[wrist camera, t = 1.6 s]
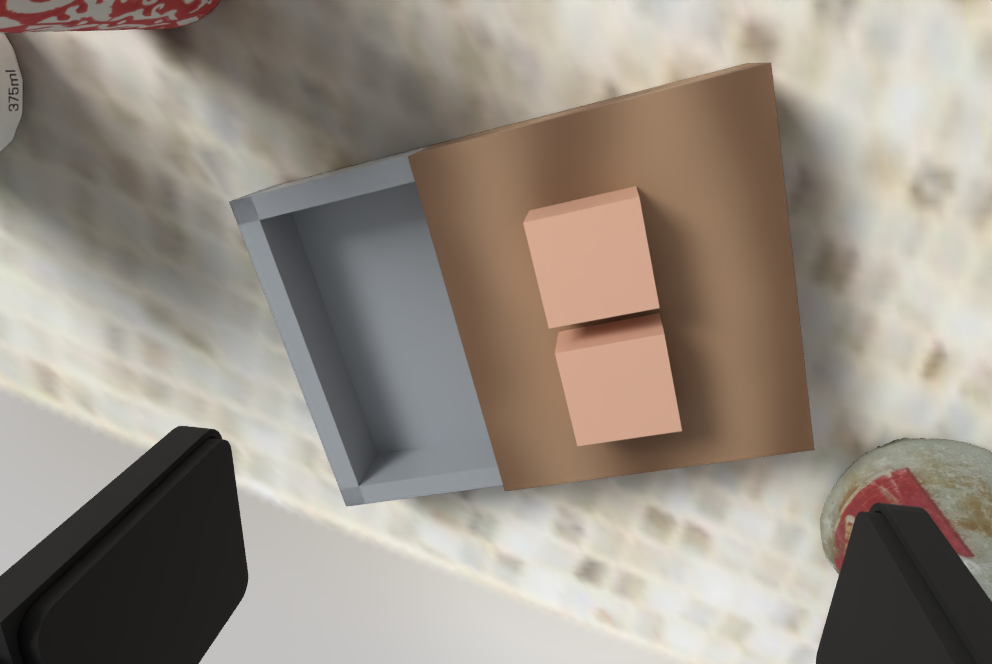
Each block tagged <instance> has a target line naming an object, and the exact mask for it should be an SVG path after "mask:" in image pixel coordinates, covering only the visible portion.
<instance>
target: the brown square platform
mask: <svg viewBox="0 0 992 664" xmlns="http://www.w3.org/2000/svg"><path fill="white" fill-rule="evenodd" d="M408 159H409V163H410V166H411V170H412V173H413V176H414V180H415V183H416V187H417V190H418V194H419V197H420V201H421V204H422V207H423V211H424V214H425V218H426V221H427V225H428V228H429V232H430V235H431V238H432V242H433V245H434V249H435V252H436V256H437V259H438V263H439V266H440V269H441V273H442V276H443V280H444V283H445V287H446V290H447V293H448V297H449V300H450V304H451V307H452V311H453V314H454V318H455V321H456V324H457V328H458V331H459V335H460V338H461V342H462V345H463V349H464V352H465V355H466V359H467V362H468V366H469V369H470V373H471V376H472V380H473V383H474V386H475V390H476V393H477V397H478V400H479V404H480V407H481V411H482V414H483V417H484V421H485V424H486V428H487V431H488V435H489V438H490V442H491V445H492V448H493V452H494V455H495V459H496V462H497V466H498V469H499V473H500V476H501V479H502V483H503V486H504V490H505V491H510V490H518V489H525V488H533V487H540V486H548V485H555V484H563V483H570V482H578V481H585V480H593V479H600V478H608V477H615V476H622V475H630V474H637V473H645V472H652V471H660V470H667V469H675V468H682V467H690V466H697V465H705V464H712V463H720V462H727V461H735V460H742V459H750V458H757V457H765V456H772V455H780V454H787V453H795V452H802V451H810V450H814V444H813V435H812V426H811V417H810V408H809V399H808V390H807V381H806V372H805V363H804V354H803V345H802V336H801V327H800V318H799V309H798V300H797V291H796V282H795V273H794V264H793V255H792V246H791V237H790V228H789V219H788V210H787V201H786V192H785V183H784V174H783V165H782V156H781V147H780V138H779V129H778V120H777V111H776V102H775V93H774V84H773V75H772V66H771V63H746V64H743V65H739V66H735V67H731V68H727V69H723V70H719V71H716V72H712V73H708V74H704V75H700V76H696V77H692V78H689V79H685V80H681V81H677V82H673V83H669V84H665V85H662V86H658V87H654V88H650V89H646V90H642V91H638V92H635V93H631V94H627V95H623V96H619V97H615V98H612V99H608V100H604V101H600V102H596V103H592V104H588V105H585V106H581V107H577V108H573V109H569V110H565V111H561V112H558V113H554V114H550V115H546V116H542V117H538V118H534V119H531V120H527V121H523V122H519V123H515V124H511V125H507V126H504V127H500V128H496V129H492V130H488V131H484V132H481V133H477V134H473V135H469V136H465V137H461V138H457V139H454V140H450V141H446V142H442V143H438V144H434V145H431V146H429V147H427V148H425V149H423V150H420V151H418V152H416V153H414V154H412V155H410V156H408ZM634 186H636V187H637V191H638V194H639V198H640V203H641V209H642V214H643V220H644V225H645V231H646V236H647V242H648V247H649V253H650V258H651V264H652V269H653V275H654V280H655V286H656V291H657V296H658V302H659V307H660V308H657V309H652V310H646V311H641V312H636V313H630V314H625V315H620V316H614V317H609V318H604V319H598V320H593V321H588V322H582V323H577V324H571V325H566V326H561V327H555V328H550V329H549V327H548V323H547V319H546V315H545V311H544V307H543V303H542V299H541V294H540V290H539V286H538V282H537V278H536V274H535V270H534V266H533V262H532V257H531V253H530V249H529V245H528V241H527V237H526V233H525V229H524V224H523V222H524V220H525V218H526V216H527V214H528V212H529V210H534V209H538V208H542V207H547V206H551V205H556V204H560V203H564V202H569V201H573V200H577V199H582V198H586V197H591V196H595V195H599V194H604V193H608V192H612V191H617V190H621V189H626V188H630V187H634ZM658 313H660V317H661V322H662V326H663V330H664V335H665V340H666V346H667V351H668V357H669V362H670V368H671V373H672V378H673V384H674V389H675V395H676V400H677V406H678V411H679V417H680V422H681V428H682V431H679V432H672V433H665V434H659V435H652V436H645V437H638V438H631V439H624V440H617V441H610V442H604V443H597V444H590V445H583V446H577V443H576V439H575V435H574V430H573V426H572V422H571V418H570V414H569V410H568V406H567V402H566V397H565V393H564V389H563V385H562V381H561V377H560V373H559V369H558V364H557V360H556V356H555V349H556V343H557V337H558V332H560V331H566V330H571V329H577V328H582V327H587V326H593V325H598V324H604V323H609V322H615V321H620V320H625V319H631V318H636V317H642V316H647V315H652V314H658Z"/></svg>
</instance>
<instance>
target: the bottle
mask: <svg viewBox="0 0 992 664" xmlns="http://www.w3.org/2000/svg"><path fill="white" fill-rule="evenodd" d="M875 503H887V504H896V505H905V506H914V507H920V508H923V509H924V510H925V511H926V512H927V513H928V514H929V515H930V516H931V518H932V519H933V521H934V522H935V523H936V525H937V526H938V528H939V529H940V530H941V532H942V533H943V534H944V536H945V537H946V539H947V540H948V541H949V543H950V544H951V546H952V547H953V548H954V550H955V551H956V553H957V554H958V555H959V557H960V558H961V559H962V561H963V562H964V564H965V565H966V566H967V568H968V569H969V571H970V572H971V573H972V575H973V576H974V578H975V579H976V580H977V582H978V583H979V584H980V586H981V587H982V589H983V590H984V591H985V593H986V594H987V596H988V597H989V598H990V600H991V601H992V452H990V451H988V450H986V449H983V448H980V447H977V446H975V445H972V444H968V443H965V442H959V441H953V440H946V439H924V438H920V439H908V438H902V439H901V440H899V439H897V440H894V441H892V442H890V443H888V444H885V445H884V446H882V447H881V448H880V446H878V447H877V449H875V450H873V451H871V452H869V453H866V454H864V455H862V456H861V457H860V458H859V459H858V460H856V461H855V462H853V464H852V465H851V466H850V467H849V468H848V469H847V470H846V471H845V472H844V474H843V475H842V476H841V477H840V478H839V480H838V481H837V482H836V484H835V485H834V487H833V489H832V491H831V493H830V495H829V496H828V498H827V500H826V502H825V505H824V508H823V511H822V515H821V518H820V529H821V538H822V544H823V550H824V552H825V555H826V558H827V559H828V560H829V562H830V563H831V565H833V567H834V568H835V570H836V571H837V573H838V574H840V570H841V567H842V563H843V560H844V556H845V553H846V549H847V545H848V542H849V538H850V535H851V531H852V528H853V524H854V521H855V518H856V516H857V514H858V513H859V512H861V511H864V512H869V510H870V508H871V507H872V506H873V504H875Z"/></svg>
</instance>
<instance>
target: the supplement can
mask: <svg viewBox="0 0 992 664" xmlns="http://www.w3.org/2000/svg"><path fill="white" fill-rule="evenodd" d="M22 108H23V79H22V75H21V72H20V69H19V65H18V62H17V58H16V55H15V52H14V49H13V48H12V46H11V44H10V42H9V41H8V39H7V37H6V36H5V34H4V33H0V151H1V150H2V149H4V148H5V147H6V146H7V145H8V144H9V143H10V142H11V141H12V140H13V137H14V135H15V132H16V129H17V127H18V124H19V122H20V119H21V116H22Z"/></svg>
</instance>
